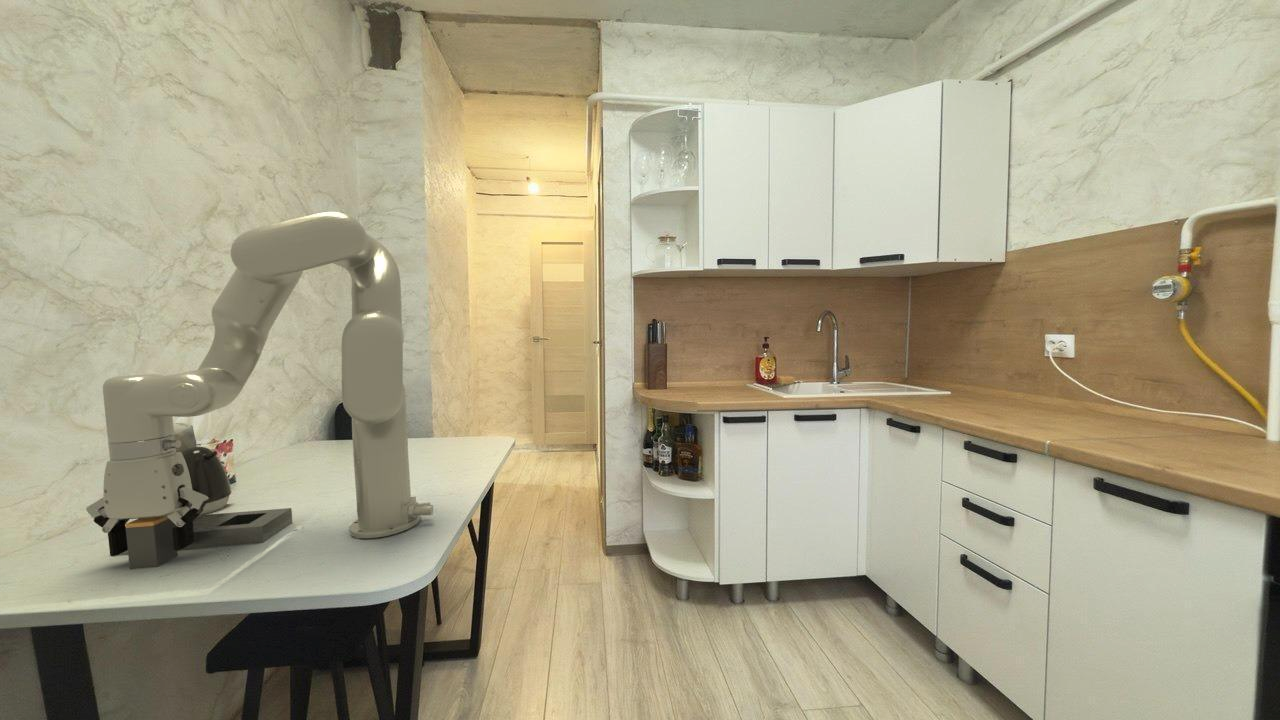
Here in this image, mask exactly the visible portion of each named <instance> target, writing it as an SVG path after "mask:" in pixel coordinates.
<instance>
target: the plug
mask: <svg viewBox="0 0 1280 720" xmlns="http://www.w3.org/2000/svg"><path fill="white" fill-rule="evenodd" d="M125 527H126V536H127V546H128V554H127V555H128V565H129V570H139V569H151V568H158V567H160V566H162V565H164V564H165V563H167V562H169V561H170V560H172V559H175V558H176V557H178V556H179V553H178V551H176V550H174V543H173V532H172V529H173V528H174V527H175V524H174V523H173V522H172V521H171V520H170V519H169V518H168V517H167V516H162V517H151V518H138V519H133V520H132V521H130V522H129V521H128V522H127V523H126V524H125Z"/></svg>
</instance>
